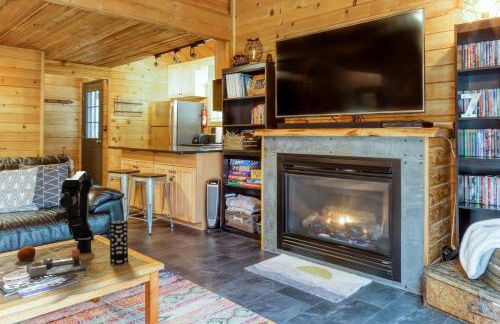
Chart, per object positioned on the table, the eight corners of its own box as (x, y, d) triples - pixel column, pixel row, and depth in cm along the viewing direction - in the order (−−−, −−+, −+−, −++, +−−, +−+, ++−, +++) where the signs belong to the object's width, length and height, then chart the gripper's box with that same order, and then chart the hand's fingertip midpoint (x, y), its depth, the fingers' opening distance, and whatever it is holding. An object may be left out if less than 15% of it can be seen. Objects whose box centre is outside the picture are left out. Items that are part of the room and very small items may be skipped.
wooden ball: (43, 269, 177) (42, 258, 177) (44, 272, 173) (44, 261, 172) (30, 271, 174) (30, 260, 174) (31, 275, 170) (31, 263, 170)
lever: (33, 269, 177) (33, 256, 177) (32, 266, 180) (32, 254, 180) (80, 261, 188) (80, 250, 188) (78, 259, 191) (78, 248, 191)
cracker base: (76, 258, 197) (76, 250, 197) (86, 270, 179) (85, 260, 179) (26, 266, 185) (26, 257, 185) (31, 279, 167) (30, 269, 167)
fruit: (31, 260, 190) (23, 245, 191) (19, 267, 192) (11, 253, 192) (42, 255, 198) (35, 241, 199) (31, 262, 200) (24, 248, 200)
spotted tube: (131, 261, 193) (131, 221, 192) (119, 266, 186) (118, 224, 185) (118, 259, 197) (118, 219, 196) (106, 263, 189) (105, 222, 188)
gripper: (51, 203, 191) (52, 235, 192) (56, 208, 175) (57, 243, 176) (76, 201, 197) (76, 232, 198) (82, 206, 181) (83, 240, 182)
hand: (73, 237), depth 188 cm, fingers open, 9 cm apart
